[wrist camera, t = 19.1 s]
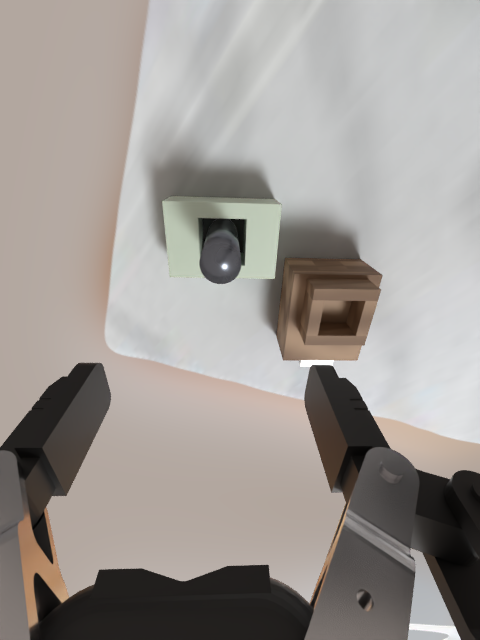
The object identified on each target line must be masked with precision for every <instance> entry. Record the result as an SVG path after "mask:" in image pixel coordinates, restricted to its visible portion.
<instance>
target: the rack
mask: <svg viewBox="0 0 480 640" xmlns="http://www.w3.org/2000/svg"><path fill="white" fill-rule="evenodd" d="M162 205H163V215H164V225H165V235H166V245H167V255H168V265H169V275H170V277H186V278H205V277H204V275H203V274H202V272H201V270H200V266H199V260H200V256H201V253H202V250H203V219H202V218H224V219H244V237H243V253H240V256H241V270H240V272H239V274H238V276H237V277H236V278H253V279H275V270H276V260H277V249H278V239H279V228H280V218H281V208H282V204H281V203H279V202H278V201H277V200H275V199H261V198H226V197H190V196H170V197H168V198H167V199H165V200H163V201H162Z"/></svg>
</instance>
